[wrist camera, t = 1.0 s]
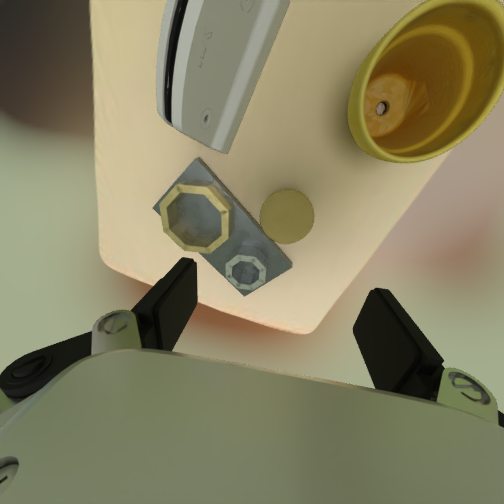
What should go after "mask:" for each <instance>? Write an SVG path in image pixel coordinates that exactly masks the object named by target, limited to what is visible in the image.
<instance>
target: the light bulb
mask: <svg viewBox="0 0 504 504" xmlns="http://www.w3.org/2000/svg"><path fill="white" fill-rule="evenodd" d="M260 223H261V226H262V229H263V230H264V232H265V233H266V235H267V236H268V237H269V238H271V239H272V240H273V241H275V242H277V243H281V244H290V243H294V242H296V241H299V240H300V239H302V238H303V237H305V236H306V235H307V234H308V233H309V231H310V230H311V228H312V226H313V223H314V210H313V207H312V204H311V203H310V201H309V199H308V198H307V197H306V196H305V195H303V194H302V193H300V192H298V191H296V190H291V189H285V190H280V191H277V192H275V193H273V194H272V195H270V196H269V197H268V198H267V200H266V201H265V202H264V204H263V206H262V208H261V211H260Z"/></svg>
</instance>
